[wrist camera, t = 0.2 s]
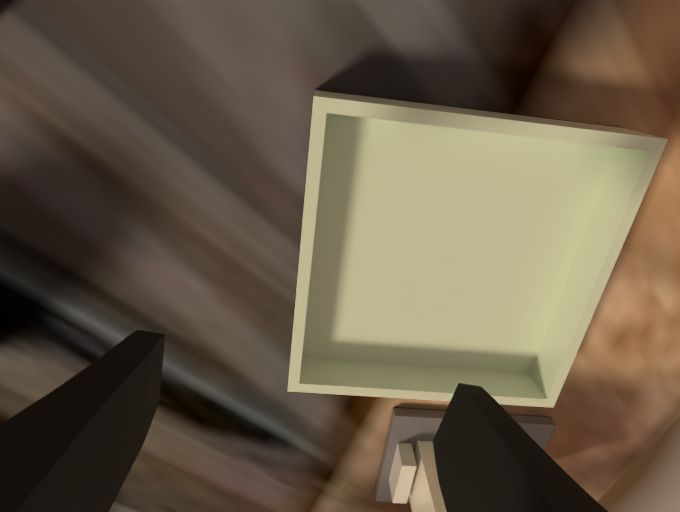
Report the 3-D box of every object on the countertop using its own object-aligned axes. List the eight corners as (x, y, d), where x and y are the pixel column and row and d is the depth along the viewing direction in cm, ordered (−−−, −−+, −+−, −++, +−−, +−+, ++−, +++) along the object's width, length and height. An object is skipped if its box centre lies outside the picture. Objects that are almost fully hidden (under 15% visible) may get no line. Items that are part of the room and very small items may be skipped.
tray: (531, 373, 24) (553, 407, 21) (290, 357, 23) (287, 391, 20) (625, 128, 18) (668, 139, 16) (314, 89, 17) (313, 96, 15)
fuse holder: (515, 498, 28) (529, 530, 26) (374, 492, 27) (378, 525, 25) (550, 417, 25) (569, 447, 23) (393, 407, 24) (399, 437, 22)
